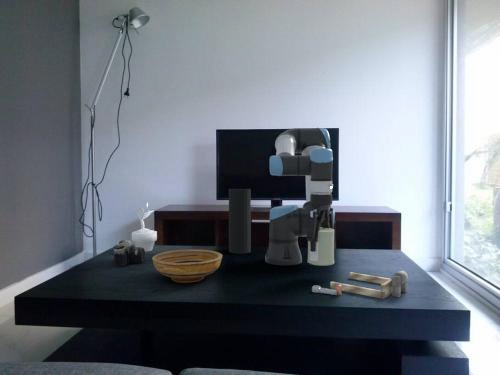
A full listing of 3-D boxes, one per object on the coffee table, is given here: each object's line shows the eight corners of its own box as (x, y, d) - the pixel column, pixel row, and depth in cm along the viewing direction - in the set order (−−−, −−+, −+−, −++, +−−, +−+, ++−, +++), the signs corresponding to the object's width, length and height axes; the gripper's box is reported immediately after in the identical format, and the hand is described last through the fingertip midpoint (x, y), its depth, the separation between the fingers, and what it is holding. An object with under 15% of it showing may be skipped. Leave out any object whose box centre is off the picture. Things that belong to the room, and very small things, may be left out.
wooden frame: (330, 288, 118) (330, 267, 118) (350, 277, 131) (350, 259, 131) (397, 301, 105) (397, 278, 105) (413, 288, 118) (413, 268, 118)
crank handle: (312, 291, 115) (312, 282, 115) (314, 290, 116) (314, 280, 116) (340, 296, 110) (340, 286, 110) (342, 294, 112) (342, 284, 112)
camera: (138, 269, 143) (137, 243, 143) (111, 269, 143) (110, 243, 143) (147, 260, 159) (147, 237, 159) (123, 260, 159) (123, 237, 159)
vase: (224, 253, 174) (224, 189, 174) (240, 250, 181) (240, 188, 181) (238, 256, 167) (238, 189, 166) (255, 253, 174) (255, 189, 173)
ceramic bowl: (205, 293, 113) (205, 267, 113) (134, 288, 119) (133, 263, 119) (233, 270, 142) (233, 249, 141) (174, 266, 147) (174, 246, 147)
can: (334, 266, 124) (334, 230, 124) (306, 264, 126) (306, 229, 126) (334, 259, 133) (334, 226, 133) (308, 258, 135) (308, 225, 135)
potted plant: (143, 256, 167) (142, 200, 167) (126, 253, 174) (125, 199, 173) (164, 251, 178) (163, 199, 177) (147, 249, 184) (147, 198, 184)
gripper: (315, 195, 118) (315, 266, 119) (344, 192, 135) (343, 253, 136) (295, 194, 122) (295, 262, 124) (325, 191, 139) (325, 250, 141)
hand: (320, 257), depth 130 cm, fingers closed on can, 9 cm apart
